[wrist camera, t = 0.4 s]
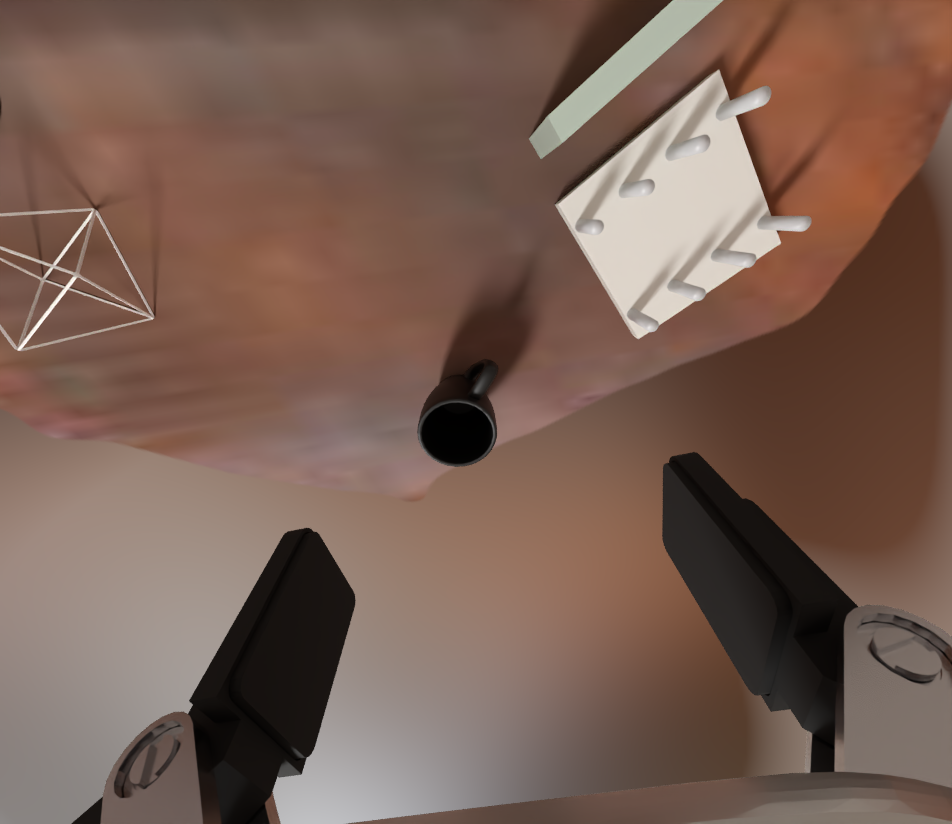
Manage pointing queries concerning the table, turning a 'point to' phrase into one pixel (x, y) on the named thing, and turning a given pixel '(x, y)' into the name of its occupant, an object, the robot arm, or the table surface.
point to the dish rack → (676, 208)
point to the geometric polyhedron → (76, 274)
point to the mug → (460, 418)
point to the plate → (619, 71)
